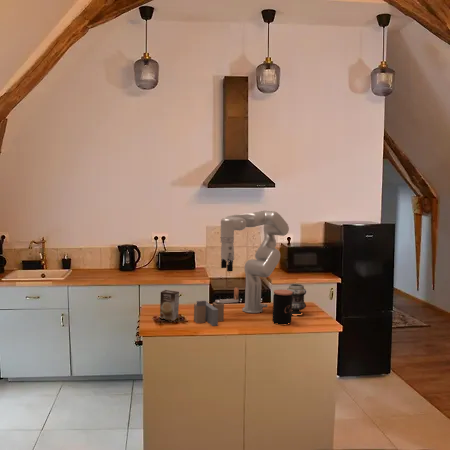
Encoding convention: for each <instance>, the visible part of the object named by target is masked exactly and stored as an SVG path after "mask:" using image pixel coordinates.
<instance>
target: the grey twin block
mask: <svg viewBox="0 0 450 450" xmlns="http://www.w3.org/2000/svg"><path fill="white" fill-rule="evenodd" d="M224 310H225V303H221V304H216V303H215V302H212V304H211V303H209V302H208V301H207V300H196V303H194V305H193V322H194V323H196V324H203V323H205V324H206V322H207V323H208V324H209V325H210V326H212V327H217V326H219V324H218V322H224V319H225V316H224V314H225V313H224V312H225V311H224Z"/></svg>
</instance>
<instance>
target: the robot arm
mask: <svg viewBox="0 0 450 450" xmlns="http://www.w3.org/2000/svg"><path fill="white" fill-rule="evenodd" d="M260 226H263V234H264V238H263V241H262V242H261V244H260V245H259V247H258V249H256V251H255V254H254V258H255V259H253V258H252V259H248V260H247V261H246V262H245V264H244V274H245V291H244V292H245V293H244V295H245V296H244V307H242V308H241V310H242V312H244V313H248V314H261V313H263V312H264V311H263V309H264V308H268V304H267V303H266V304H265V303H262V302H261V300H262V299H261V298H262V279H261V278H269V277H270V276H271V274H272V273H273V272H274V270H275V268H276V267H277V266H278V264H279V262H280V260H281V252H280V250H279V249H277V248H276V247H277V239H276V237H275V236H278V237H279V236H280V237H281V236H282V237H284V236H286V235H288V234H289V230H290V227H289V224H288V223H287V221H286V220H285V219H284V217H282V215H281V214H279V213H278V212H277V211H275V210H274V211H273V210H260V211H256V212H248V213H239V214H233V215H227V216H225V218H222V219H220V243H221V244H220V245H221V246H220V258H221V260H220V263H221V264H220V269H226V272H233V270H234V269H233V268H234V267H233V266H234V265H233V264H234V260H235V247H234V243H235V241H234V239H235V231H240V232H241V231H243V230H245V229H246V228H255V227H260ZM260 312H261V313H260Z"/></svg>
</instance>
